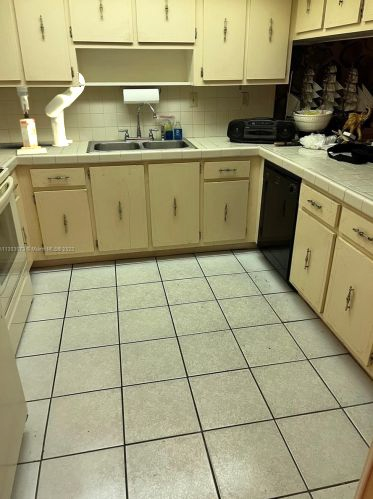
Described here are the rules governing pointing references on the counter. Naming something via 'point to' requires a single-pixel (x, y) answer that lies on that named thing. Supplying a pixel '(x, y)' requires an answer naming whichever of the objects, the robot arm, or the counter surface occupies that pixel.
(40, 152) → the mat
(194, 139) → the counter surface
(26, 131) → the cracker box
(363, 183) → the counter surface
